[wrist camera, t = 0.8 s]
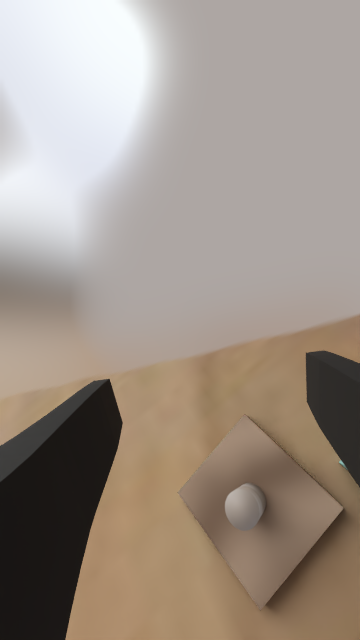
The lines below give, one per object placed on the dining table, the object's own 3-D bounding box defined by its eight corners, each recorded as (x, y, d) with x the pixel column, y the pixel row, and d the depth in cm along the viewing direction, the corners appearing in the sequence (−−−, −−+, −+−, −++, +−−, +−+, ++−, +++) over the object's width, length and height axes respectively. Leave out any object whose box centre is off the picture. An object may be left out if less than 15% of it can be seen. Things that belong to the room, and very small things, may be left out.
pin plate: (341, 505, 17) (352, 521, 13) (262, 602, 17) (250, 647, 13) (246, 415, 22) (234, 409, 18) (182, 490, 21) (156, 500, 18)
